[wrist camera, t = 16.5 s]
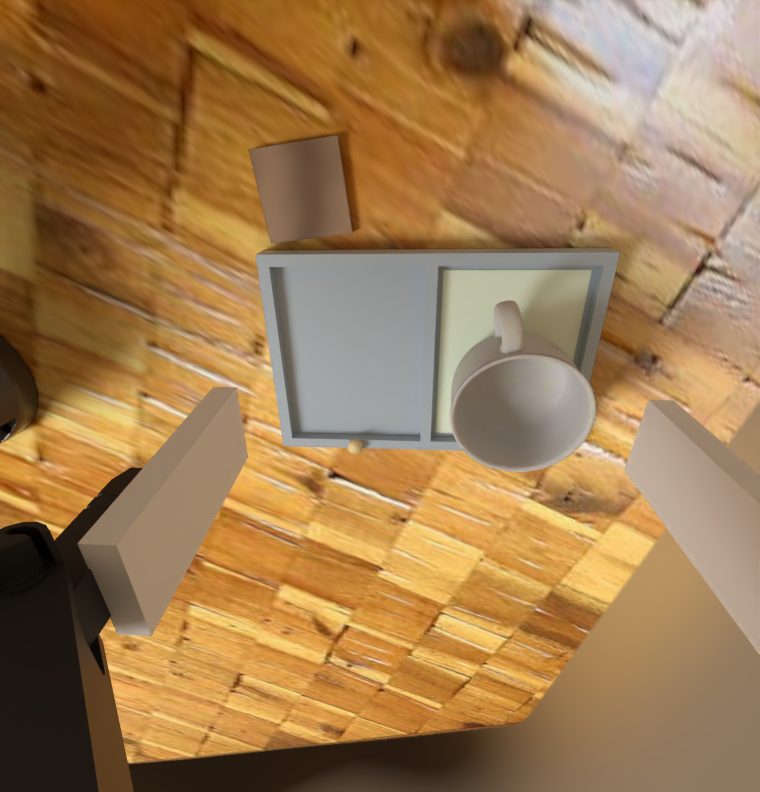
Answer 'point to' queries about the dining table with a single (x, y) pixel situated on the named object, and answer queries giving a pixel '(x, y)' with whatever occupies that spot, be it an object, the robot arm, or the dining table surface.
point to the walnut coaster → (302, 189)
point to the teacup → (519, 399)
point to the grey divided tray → (410, 332)
